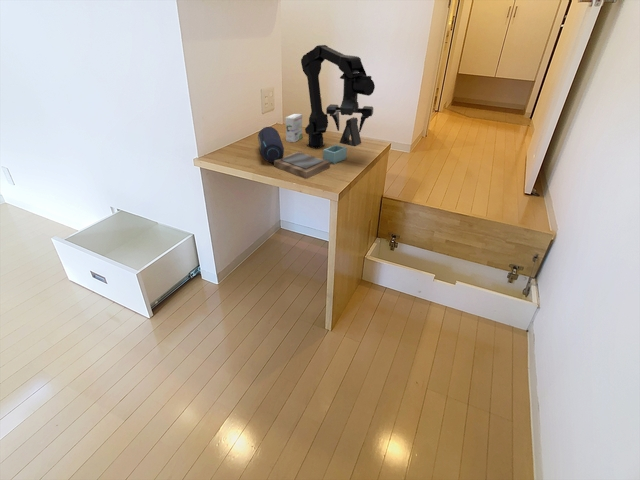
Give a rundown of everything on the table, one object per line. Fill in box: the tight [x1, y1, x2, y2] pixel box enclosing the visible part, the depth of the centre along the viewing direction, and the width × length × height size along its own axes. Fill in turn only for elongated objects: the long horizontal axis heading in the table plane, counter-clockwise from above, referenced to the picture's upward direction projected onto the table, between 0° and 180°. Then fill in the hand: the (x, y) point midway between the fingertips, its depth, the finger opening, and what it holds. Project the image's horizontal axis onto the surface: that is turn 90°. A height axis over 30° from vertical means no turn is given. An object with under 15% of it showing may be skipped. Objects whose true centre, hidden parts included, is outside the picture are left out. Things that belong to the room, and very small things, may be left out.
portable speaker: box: [257, 126, 285, 163], centre depth 157 cm, size 25×10×10 cm, turn 12°
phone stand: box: [339, 116, 362, 147], centre depth 173 cm, size 9×6×12 cm, turn 55°
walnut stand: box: [273, 151, 331, 179], centre depth 149 cm, size 18×15×3 cm
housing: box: [322, 144, 348, 165], centre depth 156 cm, size 6×10×5 cm, turn 140°
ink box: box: [285, 113, 303, 143], centre depth 176 cm, size 8×5×12 cm, turn 153°
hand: (349, 131), depth 150 cm, fingers open, 9 cm apart
